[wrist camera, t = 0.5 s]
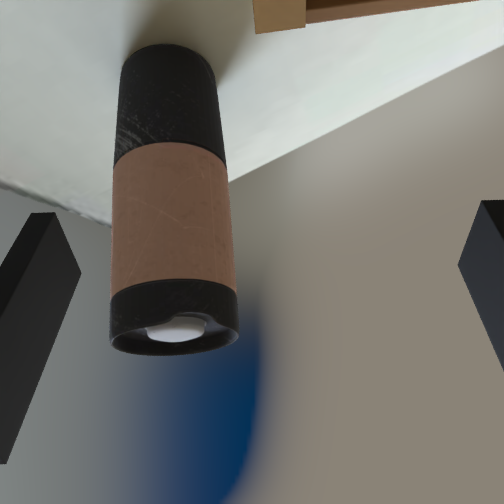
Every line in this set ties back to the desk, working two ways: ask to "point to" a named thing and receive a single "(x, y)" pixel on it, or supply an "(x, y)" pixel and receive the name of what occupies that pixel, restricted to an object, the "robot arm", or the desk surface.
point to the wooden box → (327, 11)
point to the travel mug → (170, 210)
